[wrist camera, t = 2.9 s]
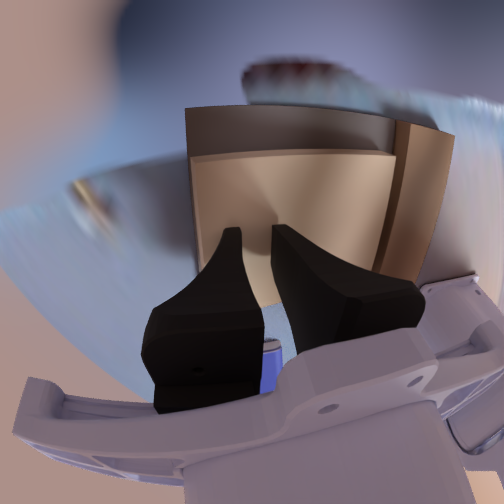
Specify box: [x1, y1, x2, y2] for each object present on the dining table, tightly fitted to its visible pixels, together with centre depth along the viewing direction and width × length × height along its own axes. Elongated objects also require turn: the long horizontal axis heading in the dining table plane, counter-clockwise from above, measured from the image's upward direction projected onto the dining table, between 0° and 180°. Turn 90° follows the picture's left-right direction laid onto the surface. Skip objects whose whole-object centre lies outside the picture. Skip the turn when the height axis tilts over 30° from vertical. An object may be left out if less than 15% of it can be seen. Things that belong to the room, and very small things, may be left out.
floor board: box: [185, 105, 455, 284], centre depth 15 cm, size 16×12×2 cm
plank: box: [190, 149, 396, 308], centre depth 14 cm, size 10×8×1 cm
